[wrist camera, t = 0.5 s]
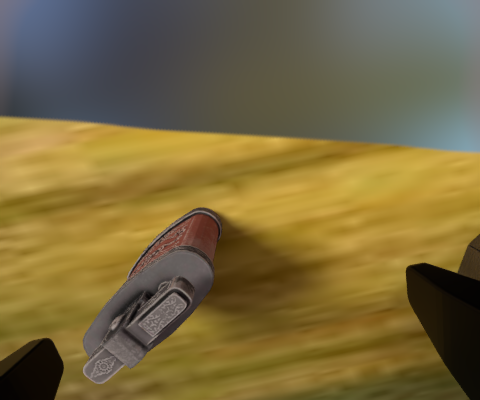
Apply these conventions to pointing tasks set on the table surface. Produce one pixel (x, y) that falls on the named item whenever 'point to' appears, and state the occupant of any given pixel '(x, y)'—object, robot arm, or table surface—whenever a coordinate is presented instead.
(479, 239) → the cup bracket
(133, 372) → the table surface
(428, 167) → the table surface
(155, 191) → the table surface
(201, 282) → the lighter
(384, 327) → the table surface
